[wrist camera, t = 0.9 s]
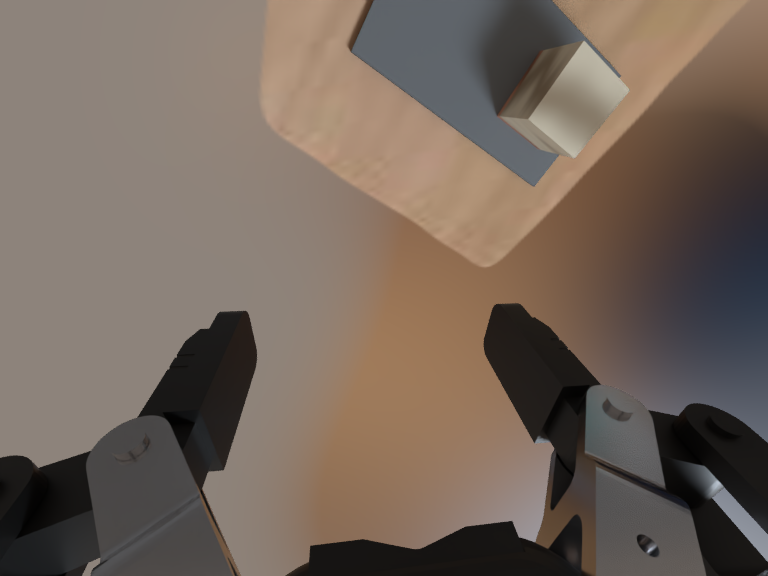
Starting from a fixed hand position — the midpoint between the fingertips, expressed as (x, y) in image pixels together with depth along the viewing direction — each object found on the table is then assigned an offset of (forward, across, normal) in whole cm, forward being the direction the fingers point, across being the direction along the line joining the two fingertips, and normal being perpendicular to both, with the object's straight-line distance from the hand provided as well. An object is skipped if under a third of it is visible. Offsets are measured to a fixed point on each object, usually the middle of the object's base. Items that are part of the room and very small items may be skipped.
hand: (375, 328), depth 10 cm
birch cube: (+25, -18, -7) cm, 32 cm away
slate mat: (+26, -13, -10) cm, 30 cm away
